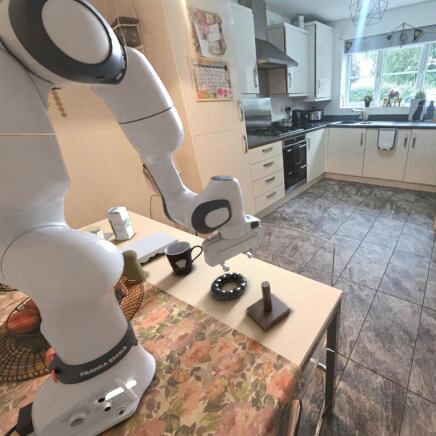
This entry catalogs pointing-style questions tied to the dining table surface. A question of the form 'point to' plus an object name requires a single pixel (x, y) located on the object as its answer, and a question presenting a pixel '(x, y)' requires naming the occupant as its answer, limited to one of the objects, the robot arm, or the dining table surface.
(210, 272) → the dining table surface
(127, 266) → the olive flared cylinder
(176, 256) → the coffee mug
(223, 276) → the ring
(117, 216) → the syrup box
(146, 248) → the food packaging
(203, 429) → the dining table surface
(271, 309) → the peg stand
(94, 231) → the stacked layers on plate
